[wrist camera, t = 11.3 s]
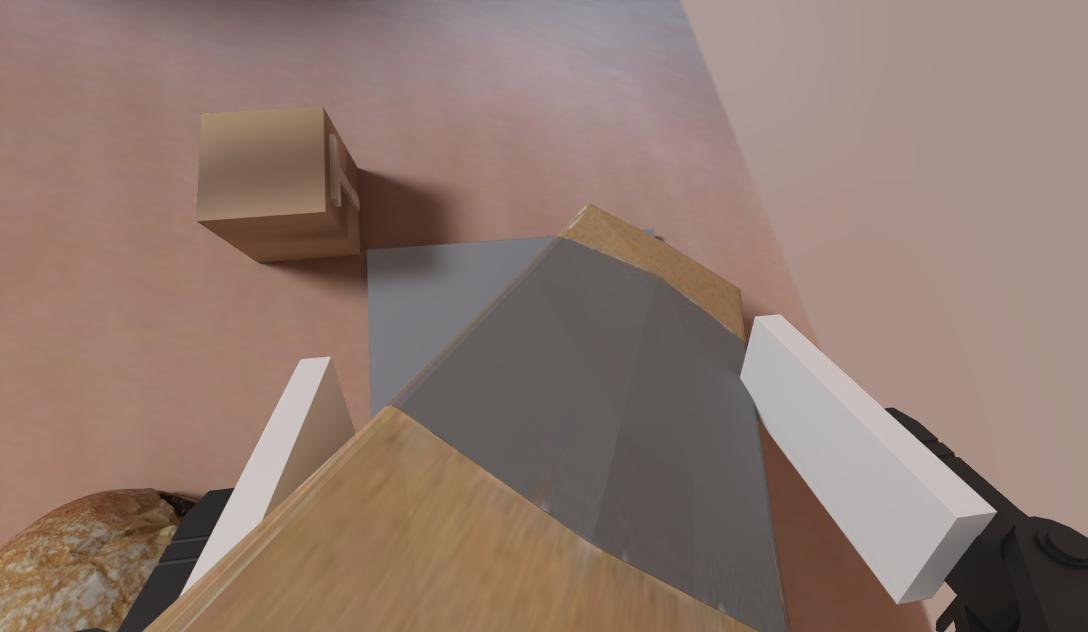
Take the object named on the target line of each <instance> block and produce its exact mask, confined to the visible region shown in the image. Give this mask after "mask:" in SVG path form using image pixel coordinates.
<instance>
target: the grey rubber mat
mask: <svg viewBox="0 0 1088 632" xmlns="http://www.w3.org/2000/svg"><path fill="white" fill-rule="evenodd" d="M642 231H644V232H646V233H647V234H649V235H651V236H653V237H655V233H654V229H652V230H642ZM555 237H556V236H553V237H539V238H525V239H511V240H497V241H482V242H468V243H454V244H440V245H426V246H412V247H398V248H384V249H369V250H367V279H368V316H369V353H370V389H371V419H372V418H373V417H375V416H376V415H377V414H378V413H379V412H380V411H381V410H382V409H383V408H384V407H385V406H386V405H387V404H388V403H389V402H390V401H391V400H392V399H393V398H394V397H395V396H396V395H397V394H398V393H399V392H400V391H401V390H402V389H403V388H404V387H405V386H406V385H407V384H408V383H409V382H410V381H411V380H412V379H413V378H414V377H415V376H416V375H417V374H418V373H419V372H420V371H421V370H423V369H424V368H425V367H426V366H427V365H428V364H429V363H430V362H431V361H432V360H433V359H434V358H435V357H436V356H437V355H438V354H439V353H440V352H441V351H442V350H443V349H444V348H445V347H446V346H447V345H448V344H449V343H450V342H451V341H452V340H453V339H454V338H455V337H456V336H457V335H458V334H459V333H460V332H461V331H462V330H463V329H464V328H465V327H466V326H467V325H468V324H469V323H470V322H471V321H472V320H473V319H474V318H475V317H476V316H477V315H478V314H479V313H480V312H481V311H482V310H483V309H484V308H485V307H486V306H487V305H488V304H489V303H490V302H491V301H492V300H493V299H494V298H495V297H496V296H497V295H498V294H499V293H500V292H501V291H502V290H503V289H504V288H506V287H507V286H508V285H509V284H510V283H511V282H512V281H513V280H514V279H515V278H516V277H517V276H518V275H519V274H520V273H521V272H522V271H523V270H524V269H525V268H526V267H527V266H528V265H529V264H530V263H531V262H532V261H533V260H534V259H535V258H536V257H537V256H538V255H539V254H540V253H541V252H542V251H543V250H544V248H545V247H546V246H547V245H548V244H549V243H550V242H551V241H552V240H553V239H554V238H555Z"/></svg>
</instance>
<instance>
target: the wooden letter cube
mask: <svg viewBox="0 0 1088 632" xmlns="http://www.w3.org/2000/svg"><path fill="white" fill-rule="evenodd" d="M359 211H360V206H359V195H358V168H357V166H356V164H355V162H354V161H353V159H352V157H351V155H350V154H349V152H348V150H347V148H346V146H345V145H344V143H343V141H342V139H341V138H340V136H339V134H338V132H337V130H336V129H335V127H334V125H333V123H332V122H331V120H330V118H329V116H328V114H327V113H326V111H325V109H324V107H316V108H296V109H276V110H256V111H235V112H215V113H202V116H201V137H200V159H199V181H198V202H197V222H199V223H200V224H202V225H203V226H204V227H206V228H207V229H209V230H210V231H212V232H213V233H215V234H216V235H218V236H219V237H221V238H222V239H224V240H225V241H227V242H228V243H230V244H231V245H233V246H234V247H236V248H237V249H239V250H240V251H242V252H243V253H244V254H246V255H247V256H249V257H250V258H252V259H253V260H255V261H256V262H258V263H264V262H276V261H288V260H300V259H313V258H325V257H337V256H349V255H361V249H360V222H359Z"/></svg>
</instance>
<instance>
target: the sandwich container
mask: <svg viewBox="0 0 1088 632" xmlns="http://www.w3.org/2000/svg"><path fill="white" fill-rule="evenodd" d="M746 351H747V349H746V341H745V332H744V322H743V313H742V304H741V295H740V289H739V288H737V287H736V286H735V285H733V284H731V283H730V282H728V281H726V280H725V279H723V278H722V277H720V276H718V275H717V274H715V273H713V272H712V271H710V270H709V269H707V268H705V267H704V266H702V265H701V264H699V263H697V262H696V261H694V260H692V259H691V258H689V257H688V256H686V255H684V254H683V253H681V252H679V251H678V250H676V249H675V248H673V247H671V246H670V245H668V244H666V243H665V242H663V241H661V240H659V239H657V238H655V237H653V236H651V235H649V234H647V233H646V232H644V231H642V230H640V229H638V228H636V227H634V226H632V225H630V224H628V223H626V222H624V221H622V220H621V219H619V218H617V217H615V216H613V215H611V214H609V213H607V212H605V211H603V210H601V209H599V208H597V207H596V206H594V205H591V204H586V205H585V206H584V207H583V208H582V209H581V210H580V212H579V213H578V214H577V215H576V216H575V217H574V218H573V219H572V220H571V221H570V222H569V223H568V224H567V225H566V226H565V228H564V229H563V230H562V231H561V232H560V233H559V234H558V235H557V236H556V237H555V238H554V239H553V240H552V241H551V242H550V243H549V244H548V245H547V246H546V247H545V248H544V250H543V251H542V252H541V253H540V254H539V255H538V256H537V257H536V258H535V259H534V260H533V261H532V262H531V263H530V264H529V265H528V266H527V267H526V268H525V269H524V270H523V271H522V272H521V273H520V274H519V275H518V276H517V277H516V278H515V279H514V280H513V281H512V282H511V283H510V284H509V285H508V286H507V287H506V288H504V289H503V290H502V291H501V292H500V293H499V294H498V295H497V296H496V297H495V298H494V299H493V300H492V301H491V302H490V303H489V304H488V305H487V306H486V307H485V308H484V309H483V310H482V311H481V312H480V313H479V314H478V315H477V316H476V317H475V318H474V319H473V320H472V321H471V322H470V323H469V324H468V325H467V326H466V327H465V328H464V329H463V330H462V331H461V332H460V333H459V334H458V335H457V336H456V337H455V338H454V339H453V340H452V341H451V342H450V343H449V344H448V345H447V346H446V347H445V348H444V349H443V350H442V351H441V352H440V353H439V354H438V355H437V356H436V357H435V358H434V359H433V360H432V361H431V362H430V363H429V364H428V365H427V366H426V367H425V368H424V369H423V370H421V371H420V372H419V373H418V374H417V375H416V376H415V377H414V378H413V379H412V380H411V381H410V382H409V383H408V384H407V385H406V386H405V387H404V388H403V389H402V390H401V391H400V392H399V393H398V394H397V395H396V396H395V397H394V398H393V399H392V400H391V401H390V402H389V403H388V404H387V405H386V406H385V407H384V408H383V409H382V410H381V411H380V412H379V413H378V414H377V415H376V416H375V417H373V418H372V419H371V420H370V421H369V422H368V423H367V424H366V425H365V426H364V427H363V428H362V429H361V430H360V431H359V432H358V433H357V434H355V435H354V436H353V437H352V438H351V439H350V440H349V441H348V442H347V443H346V444H345V445H344V446H342V447H341V448H340V449H339V450H338V451H337V452H336V453H335V454H334V455H333V456H332V457H331V458H329V459H328V460H327V461H326V462H325V463H324V464H323V465H322V466H321V467H320V468H319V469H318V470H317V471H315V472H314V473H313V474H312V475H311V476H310V477H309V478H308V479H307V480H306V481H305V482H304V483H302V484H301V485H300V486H299V487H298V488H297V489H296V490H295V491H294V492H293V493H292V494H291V495H289V496H288V497H287V498H286V499H285V500H284V501H283V502H282V503H281V504H280V505H279V506H278V507H277V508H275V509H274V510H273V511H272V512H271V513H270V514H269V515H268V516H267V517H266V518H265V519H264V520H262V521H261V522H260V523H259V524H258V525H257V526H256V527H255V528H254V529H253V530H252V531H251V532H249V533H248V534H247V535H246V536H245V537H244V538H243V539H242V540H241V541H240V542H239V543H238V544H237V545H235V546H234V547H233V548H232V549H231V550H230V551H229V552H228V553H227V554H226V555H225V556H224V557H222V558H221V559H220V560H219V561H218V562H217V563H216V564H215V565H214V566H213V567H212V568H211V569H209V570H208V571H207V572H206V573H205V574H204V575H203V576H202V577H201V578H200V579H199V580H198V581H196V582H195V583H194V584H193V585H192V586H191V587H190V588H189V589H188V590H187V591H186V592H185V593H184V594H182V595H181V596H180V597H179V598H178V599H177V600H176V601H175V602H174V603H173V604H172V605H171V606H169V607H168V608H167V609H166V610H165V611H164V612H163V613H162V614H161V615H160V616H159V617H158V618H156V619H155V620H154V621H153V622H152V623H151V624H150V625H149V626H148V627H147V628H146V629H145V630H144V631H142V632H791V630H790V624H789V618H788V612H787V606H786V600H785V594H784V588H783V582H782V577H781V571H780V565H779V559H778V552H777V546H776V540H775V534H774V527H773V520H772V513H771V506H770V499H769V492H768V486H767V479H766V472H765V465H764V458H763V452H762V445H761V439H760V433H759V426H758V420H757V414H756V407H755V403H754V401H753V399H752V396H751V395H750V393H749V391H748V390H747V388H746V387H745V385H744V383H743V382H742V380H741V379H740V375H741V371H742V367H743V363H744V359H745V355H746Z"/></svg>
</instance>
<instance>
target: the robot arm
mask: <svg viewBox="0 0 1088 632" xmlns="http://www.w3.org/2000/svg"><path fill="white" fill-rule="evenodd" d="M740 379H741V380H742V382H743V383H744V385H745V387H746V388H747V390H748V391H749V393H750V395H751V396H752V399H753V401H754V403H755V407H756V414H757V418H758V419H759V420H760V422H761V423H762V424H763V426H764V427H765V428H766V430H767V431H768V432H769V434H770V435H771V436H772V438H773V439H774V440H775V442H776V443H777V444H778V446H779V447H780V448H781V450H782V451H783V452H784V454H785V455H786V456H787V458H788V459H789V460H790V462H791V463H792V465H793V466H794V467H795V469H796V470H797V471H798V473H799V474H800V475H801V477H802V478H803V479H804V481H805V482H806V483H807V485H808V486H809V487H810V489H811V490H812V491H813V493H814V494H815V495H816V497H817V498H818V499H819V501H820V502H821V503H822V505H823V506H824V507H825V509H826V510H827V511H828V513H829V514H830V515H831V517H832V518H833V519H834V521H835V522H836V523H837V525H838V526H839V527H840V529H841V530H842V531H843V533H844V534H845V535H846V537H847V538H848V539H849V541H850V542H851V543H852V545H853V546H854V547H855V549H856V550H857V551H858V553H859V554H860V555H861V557H862V558H863V559H864V561H865V562H866V563H867V565H868V566H869V567H870V569H871V570H872V571H873V573H874V574H875V575H876V577H877V578H878V580H879V581H880V582H881V584H882V585H883V586H884V588H885V589H886V590H887V592H888V593H889V594H890V596H891V597H892V598H893V600H894V601H895V602H896V604H901V603H907V602H913V601H919V600H925V599H931V598H932V597H933V596H934V594H935V593H936V592H937V591H938V589H939V588H940V587H941V585H942V584H943V583H944V581H945V582H946V583H947V584H948V585H949V586H950V587H951V588H952V590H953V591H954V592H955V593H956V594H957V596H956V598H955V599H954V600H953V601H952V603H951V604H950V605H949V606H948V607H947V609H946V610H945V611H944V612H943V614H942V615H941V616H940V617H939V618H938V620H937V622H936V631H938V632H944V631H945V630H946V629H947V628H948V626H949V625H950V624H951V623H952V622H953V620H954V623H955V628H956V631H955V632H1088V538H1087V537H1085V536H1084V535H1082V534H1080V533H1079V532H1077V531H1075V530H1074V529H1072V528H1070V527H1068V526H1065V525H1063V524H1060V523H1058V522H1055V521H1053V520H1050V519H1044V518H1039V517H1035V516H1034V517H1028V516H1027V515H1026V514H1024V513H1023V512H1022V511H1020V510H1019V509H1018V508H1017V507H1016V506H1015V505H1013V504H1012V503H1011V502H1010V501H1009V500H1008V499H1007V498H1006V497H1004V496H1003V495H1002V494H1001V493H1000V492H998V491H997V490H996V489H995V488H994V487H993V486H992V485H990V484H989V483H988V482H987V481H986V480H985V479H984V478H982V477H981V476H980V475H979V474H978V473H977V472H976V471H974V470H973V469H972V468H971V467H970V466H969V465H968V464H966V463H965V462H964V461H963V460H962V459H961V458H959V457H955V455H954V452H953V451H951V450H950V449H949V448H948V447H947V446H946V445H944V444H943V443H939V442H938V438H936V437H935V436H934V435H933V434H932V433H931V432H929V431H928V430H927V429H926V428H925V427H924V426H923V425H921V424H920V423H919V422H918V421H916V420H914V419H912V418H911V417H909V416H907V415H905V414H904V413H902V412H900V411H898V410H897V409H895V408H886V409H884V408H883V407H881V406H880V405H879V404H878V403H877V402H876V401H875V400H874V399H873V398H871V397H870V396H869V395H868V394H867V393H866V392H865V391H864V390H863V389H862V388H860V387H859V386H858V385H857V384H856V383H855V382H854V381H853V380H852V379H851V378H849V377H848V376H847V375H846V374H845V373H844V372H843V371H842V370H841V369H840V368H839V367H837V366H836V365H835V364H834V363H833V362H832V361H831V360H830V359H829V358H828V357H826V356H825V355H824V354H823V353H822V352H821V351H820V350H819V349H818V348H816V347H815V346H814V345H813V344H812V343H811V342H810V341H809V340H808V339H807V338H805V337H804V336H803V335H802V334H801V333H800V332H799V331H798V330H797V329H796V328H794V327H793V326H792V325H791V324H790V323H789V322H788V321H787V320H786V319H785V318H783V317H782V316H781V315H780V314H778V315H767V316H756V317H755V319H754V323H753V327H752V331H751V335H750V339H749V343H748V347H747V351H746V355H745V359H744V363H743V367H742V371H741V375H740ZM354 435H355V430H354V427H353V424H352V421H351V418H350V415H349V412H348V408H347V405H346V402H345V399H344V396H343V393H342V390H341V386H340V383H339V380H338V377H337V374H336V371H335V368H334V364H333V361H332V358H331V357H321V358H311V359H301V360H300V362H299V363H298V365H297V367H296V369H295V371H294V373H293V375H292V377H291V379H290V381H289V383H288V385H287V387H286V389H285V391H284V393H283V395H282V397H281V399H280V401H279V403H278V405H277V407H276V409H275V410H274V412H273V414H272V416H271V418H270V420H269V422H268V424H267V426H266V428H265V430H264V432H263V434H262V436H261V438H260V440H259V442H258V444H257V446H256V448H255V450H254V452H253V454H252V455H251V457H250V459H249V461H248V463H247V465H246V467H245V469H244V471H243V473H242V475H241V477H240V479H239V481H238V483H237V485H236V487H235V488H230V489H222V490H213V491H209V492H208V493H207V494H206V495H205V496H204V497H203V498H202V499H201V500H200V501H199V502H198V503H197V504H196V505H195V506H194V507H193V508H192V509H191V510H190V511H188V512H187V513H186V515H185V516H184V518H183V520H182V522H181V523H180V525H179V527H178V528H177V530H176V532H175V534H174V535H173V537H172V539H171V544H170V545H167V547H166V549H165V551H164V552H163V554H162V556H161V557H160V559H159V561H158V562H159V564H158V566H157V567H155V568H154V569H153V571H152V573H151V575H150V576H149V578H148V580H147V581H146V583H145V585H144V587H143V588H142V590H141V592H140V593H139V595H138V597H137V598H136V600H135V602H134V604H133V605H132V607H131V609H130V610H129V612H128V614H127V616H126V617H125V619H124V621H123V622H122V624H121V626H120V628H119V629H118V631H117V632H142V631H144V630H145V629H146V628H147V627H148V626H149V625H150V624H151V623H152V622H153V621H154V620H155V619H156V618H158V617H159V616H160V615H161V614H162V613H163V612H164V611H165V610H166V609H167V608H168V607H169V606H171V605H172V604H173V603H174V602H175V601H176V600H177V599H178V598H179V597H180V596H181V595H182V594H184V593H185V592H186V591H187V590H188V589H189V588H190V587H191V586H192V585H193V584H194V583H195V582H196V581H198V580H199V579H200V578H201V577H202V576H203V575H204V574H205V573H206V572H207V571H208V570H209V569H211V568H212V567H213V566H214V565H215V564H216V563H217V562H218V561H219V560H220V559H221V558H222V557H224V556H225V555H226V554H227V553H228V552H229V551H230V550H231V549H232V548H233V547H234V546H235V545H237V544H238V543H239V542H240V541H241V540H242V539H243V538H244V537H245V536H246V535H247V534H248V533H249V532H251V531H252V530H253V529H254V528H255V527H256V526H257V525H258V524H259V523H260V522H261V521H262V520H264V519H265V518H266V517H267V516H268V515H269V514H270V513H271V512H272V511H273V510H274V509H275V508H277V507H278V506H279V505H280V504H281V503H282V502H283V501H284V500H285V499H286V498H287V497H288V496H289V495H291V494H292V493H293V492H294V491H295V490H296V489H297V488H298V487H299V486H300V485H301V484H302V483H304V482H305V481H306V480H307V479H308V478H309V477H310V476H311V475H312V474H313V473H314V472H315V471H317V470H318V469H319V468H320V467H321V466H322V465H323V464H324V463H325V462H326V461H327V460H328V459H329V458H331V457H332V456H333V455H334V454H335V453H336V452H337V451H338V450H339V449H340V448H341V447H342V446H344V445H345V444H346V443H347V442H348V441H349V440H350V439H351V438H352V437H353V436H354ZM75 632H109V631H106V630H102V629H99V628H91V629H85V630H80V631H75Z"/></svg>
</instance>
